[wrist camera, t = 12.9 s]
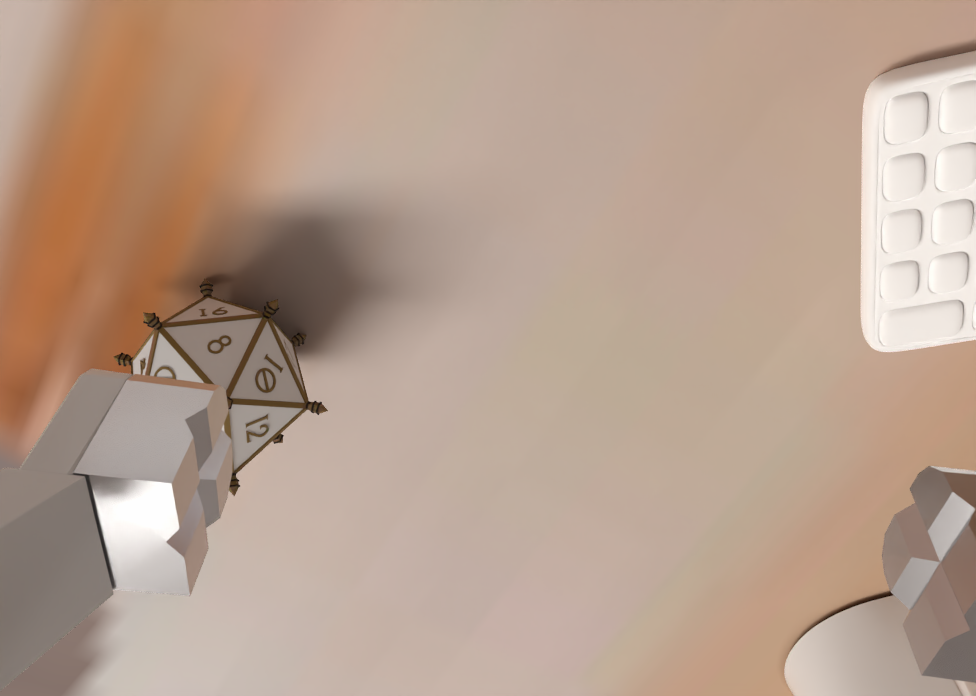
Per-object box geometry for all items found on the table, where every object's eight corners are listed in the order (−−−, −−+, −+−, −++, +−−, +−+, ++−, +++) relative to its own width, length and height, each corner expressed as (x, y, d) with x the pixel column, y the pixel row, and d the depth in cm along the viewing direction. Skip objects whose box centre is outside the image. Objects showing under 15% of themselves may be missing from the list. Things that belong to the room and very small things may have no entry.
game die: (224, 291, 46) (36, 380, 39) (287, 214, 39) (74, 306, 33) (322, 438, 46) (150, 551, 39) (401, 386, 39) (211, 511, 33)
